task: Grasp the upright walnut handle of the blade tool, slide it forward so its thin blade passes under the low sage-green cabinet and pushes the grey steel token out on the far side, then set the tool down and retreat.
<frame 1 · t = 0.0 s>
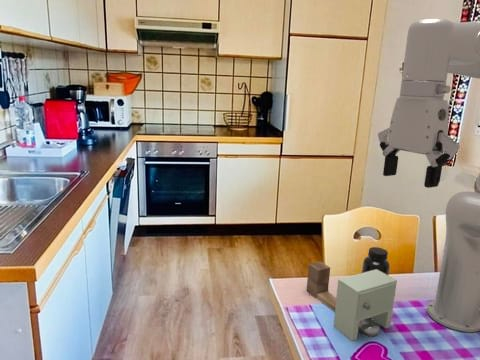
hand: (409, 180, 77), 37 cm above the table, tool pointing down, fingers open, 9 cm apart
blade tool: (316, 293, 105), on the table
cabinet: (361, 326, 91), on the table
supplement bottle: (372, 291, 108), on the table
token: (368, 332, 90), on the table
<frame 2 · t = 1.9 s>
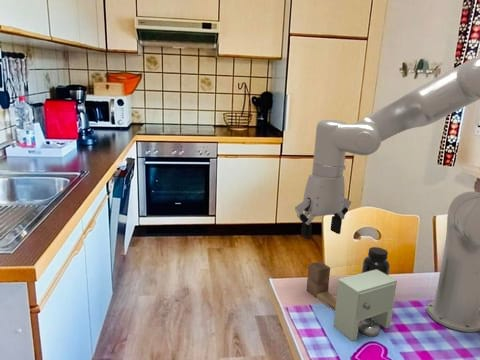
hand: (320, 234, 101), 17 cm above the table, tool pointing down, fingers open, 9 cm apart
nothing on the table moved.
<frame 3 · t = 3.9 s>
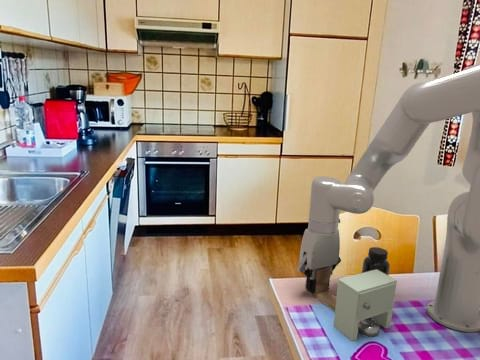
hand: (317, 288, 105), 1 cm above the table, tool pointing down, fingers closed on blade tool, 4 cm apart
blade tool: (316, 292, 105), on the table, touching gripper
everything else where it was.
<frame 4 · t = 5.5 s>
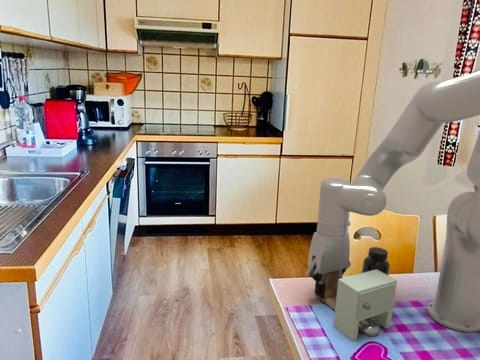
hand: (326, 293, 102), 2 cm above the table, tool pointing down, fingers closed on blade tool, 4 cm apart
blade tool: (326, 297, 102), on the table, touching gripper
everything else where it was.
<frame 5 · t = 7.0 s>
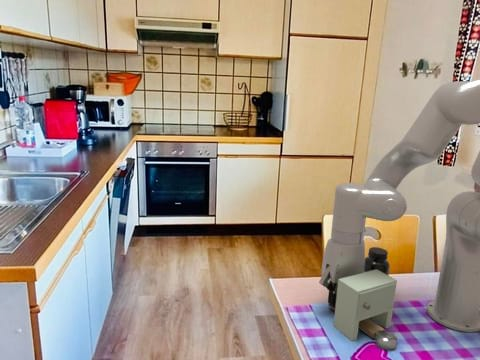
hand: (340, 303, 97), 2 cm above the table, tool pointing down, fingers closed on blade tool, 4 cm apart
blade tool: (339, 307, 98), on the table, touching gripper
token: (385, 344, 85), on the table
everything else where it was.
when the fingers open (2 cm above the table, at t = 8.2 s): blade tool stays where it is, on the table.
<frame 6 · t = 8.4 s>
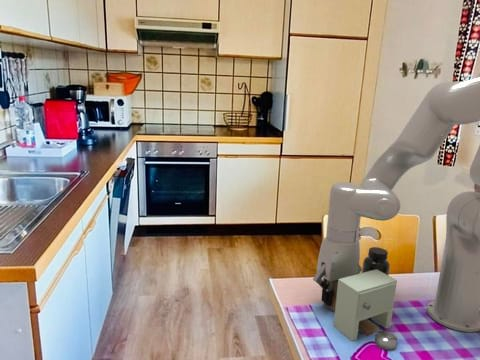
hand: (335, 300, 99), 2 cm above the table, tool pointing down, fingers open, 5 cm apart
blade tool: (335, 306, 99), on the table
everything else where it was.
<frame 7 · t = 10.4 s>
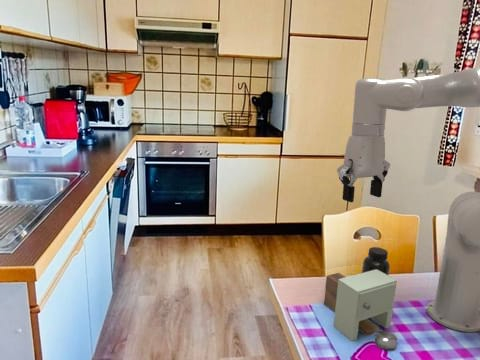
hand: (361, 198, 99), 27 cm above the table, tool pointing down, fingers open, 9 cm apart
nothing on the table moved.
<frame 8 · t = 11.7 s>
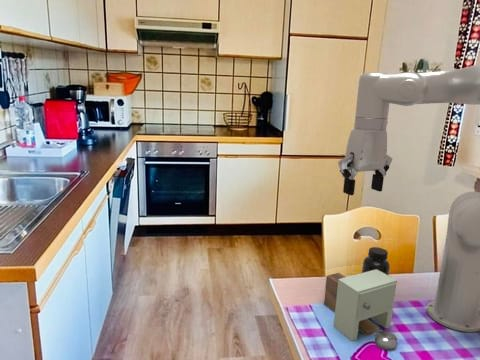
hand: (362, 192, 100), 28 cm above the table, tool pointing down, fingers open, 9 cm apart
nothing on the table moved.
at the end: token inside the target area (1.6 cm from its centre), on the table; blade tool on the table; the gripper is holding nothing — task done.
